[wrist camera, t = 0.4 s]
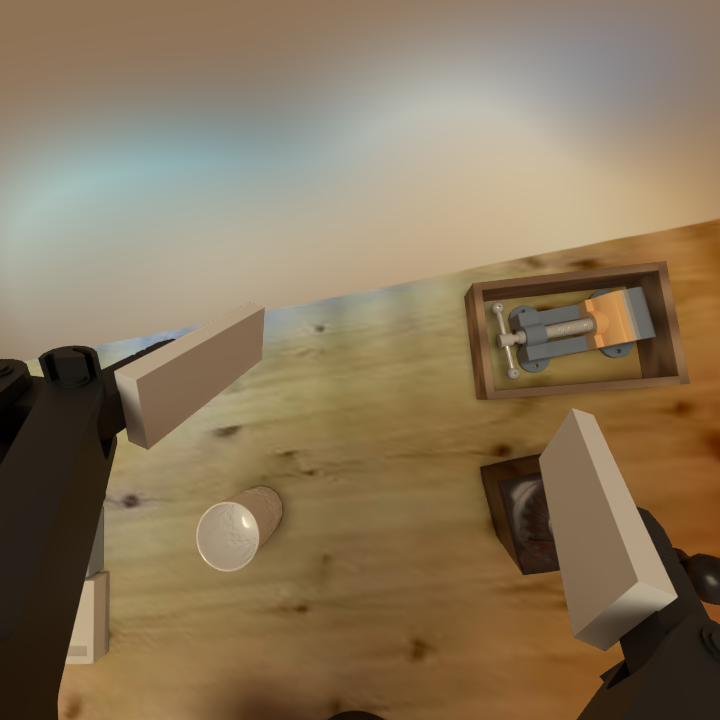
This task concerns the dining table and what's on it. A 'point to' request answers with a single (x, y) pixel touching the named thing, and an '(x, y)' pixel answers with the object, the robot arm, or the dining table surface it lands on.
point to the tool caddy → (656, 354)
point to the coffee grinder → (534, 530)
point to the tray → (91, 622)
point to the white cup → (238, 528)
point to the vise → (576, 328)
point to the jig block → (97, 548)
